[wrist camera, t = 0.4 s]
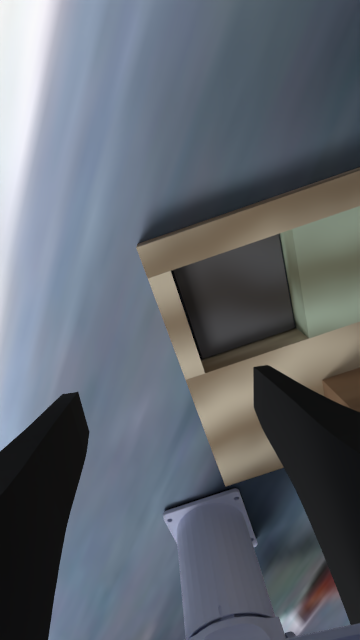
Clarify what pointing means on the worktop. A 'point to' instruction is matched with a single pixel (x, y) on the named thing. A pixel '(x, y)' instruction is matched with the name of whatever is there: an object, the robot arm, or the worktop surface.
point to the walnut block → (344, 389)
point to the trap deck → (261, 307)
